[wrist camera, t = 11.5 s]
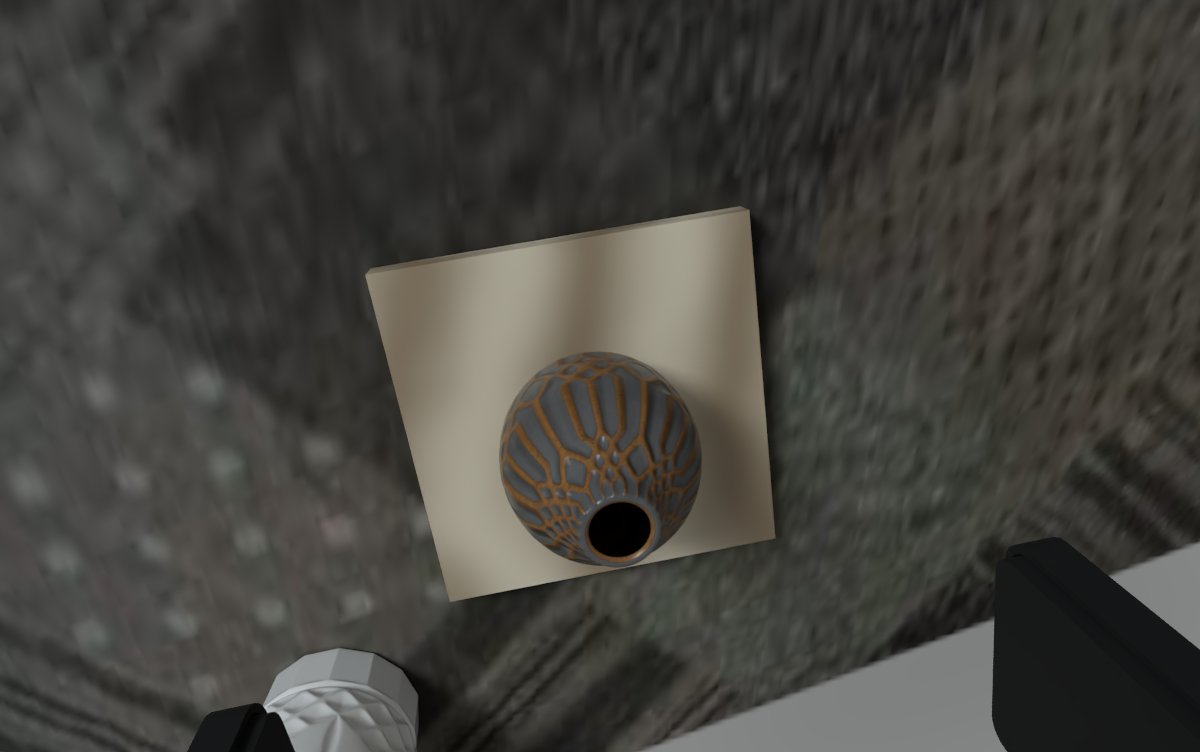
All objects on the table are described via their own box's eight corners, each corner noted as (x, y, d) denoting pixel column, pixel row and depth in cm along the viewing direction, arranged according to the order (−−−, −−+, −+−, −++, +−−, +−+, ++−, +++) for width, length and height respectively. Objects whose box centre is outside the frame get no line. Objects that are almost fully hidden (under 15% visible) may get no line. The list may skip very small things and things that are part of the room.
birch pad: (739, 206, 29) (749, 210, 28) (766, 524, 34) (775, 538, 32) (371, 268, 28) (365, 274, 27) (452, 584, 33) (450, 601, 32)
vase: (682, 480, 31) (745, 613, 23) (515, 507, 30) (517, 652, 22) (668, 318, 29) (733, 401, 20) (486, 344, 28) (477, 440, 20)
